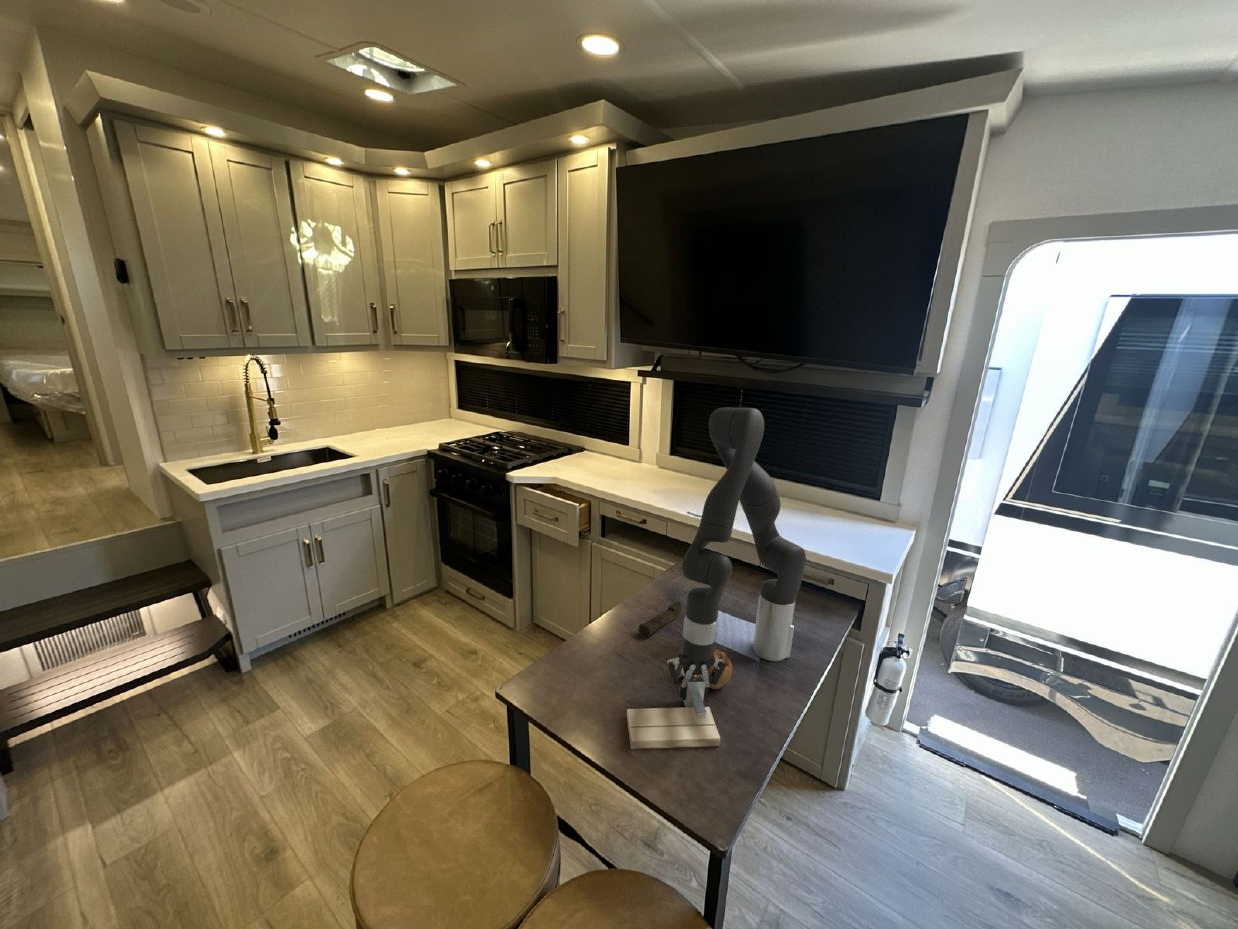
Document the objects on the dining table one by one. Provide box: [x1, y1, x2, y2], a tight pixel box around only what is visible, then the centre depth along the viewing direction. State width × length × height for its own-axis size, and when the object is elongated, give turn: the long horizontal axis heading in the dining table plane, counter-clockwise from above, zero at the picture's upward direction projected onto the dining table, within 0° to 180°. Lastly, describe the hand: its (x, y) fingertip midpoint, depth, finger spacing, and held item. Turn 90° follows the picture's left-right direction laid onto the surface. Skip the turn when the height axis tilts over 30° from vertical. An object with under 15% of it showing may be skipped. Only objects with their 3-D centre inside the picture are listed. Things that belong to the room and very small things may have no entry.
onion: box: [707, 648, 733, 691], centre depth 122 cm, size 10×9×10 cm
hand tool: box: [638, 601, 683, 639], centre depth 147 cm, size 19×4×5 cm, turn 135°
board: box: [626, 706, 721, 750], centre depth 108 cm, size 19×9×2 cm, turn 95°
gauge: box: [682, 674, 706, 718], centre depth 111 cm, size 4×10×8 cm, turn 5°
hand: (692, 697), depth 115 cm, fingers closed on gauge, 4 cm apart
